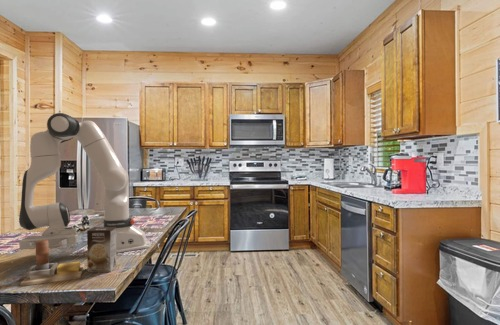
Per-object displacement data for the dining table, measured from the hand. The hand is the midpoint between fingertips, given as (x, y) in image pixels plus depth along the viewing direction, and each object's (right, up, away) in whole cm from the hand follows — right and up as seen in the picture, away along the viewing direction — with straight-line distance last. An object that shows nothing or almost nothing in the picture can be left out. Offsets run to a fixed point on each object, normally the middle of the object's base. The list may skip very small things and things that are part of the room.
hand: (46, 245), depth 123 cm
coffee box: (+21, -10, +2) cm, 23 cm away
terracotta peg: (+2, -9, -6) cm, 11 cm away
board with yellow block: (+6, -10, -4) cm, 12 cm away
